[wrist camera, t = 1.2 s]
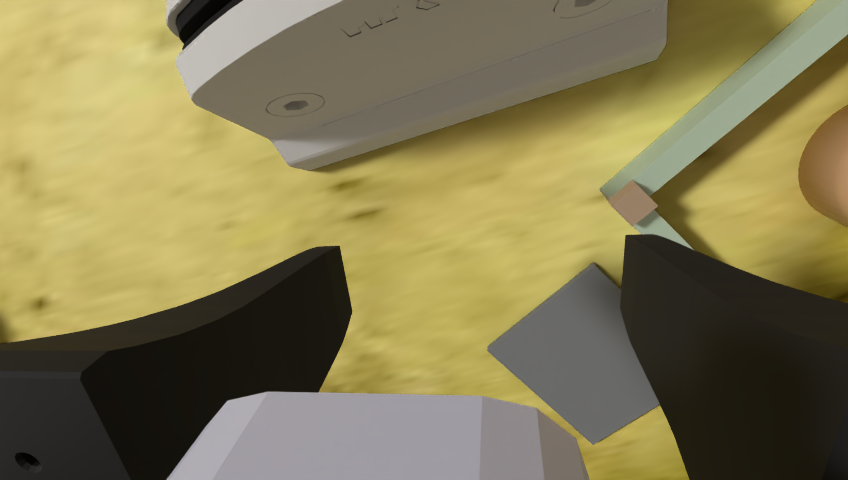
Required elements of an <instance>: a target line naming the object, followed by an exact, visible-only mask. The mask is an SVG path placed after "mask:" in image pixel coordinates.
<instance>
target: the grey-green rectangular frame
mask: <svg viewBox="0 0 848 480" xmlns="http://www.w3.org/2000/svg"><path fill="white" fill-rule="evenodd" d="M847 35H848V0H817V1H816V2H815V3H814V4H813V5H811V6H810V7H809V8H808V9H807V10H806V11H805V12H803V13H802V14H801V15H800V16H799V17H798V18H796V19H795V20H794V21H793V22H792V23H791V24H790V25H788V26H787V27H786V28H785V29H784V30H783V31H781V32H780V33H779V34H778V35H777V36H776V37H775V38H773V39H772V40H771V41H770V42H769V43H768V44H766V45H765V46H764V47H763V48H762V49H761V50H760V51H758V52H757V53H756V54H755V55H754V56H753V57H751V58H750V59H749V60H748V61H747V62H746V63H745V64H743V65H742V66H741V67H740V68H739V69H738V70H736V71H735V72H734V73H733V74H732V75H731V76H730V77H728V78H727V79H726V80H725V81H724V82H723V83H721V84H720V85H719V86H718V87H717V88H716V89H715V90H713V91H712V92H711V93H710V94H709V95H708V96H706V97H705V98H704V99H703V100H702V101H701V102H700V103H698V104H697V105H696V106H695V107H694V108H693V109H691V110H690V111H689V112H688V113H687V114H686V115H685V116H683V117H682V118H681V119H680V120H679V121H678V122H676V123H675V124H674V125H673V126H672V127H671V128H670V129H668V130H667V131H666V132H665V133H664V134H663V135H661V136H660V137H659V138H658V139H657V140H656V141H655V142H653V143H652V144H651V145H650V146H649V147H648V148H646V149H645V150H644V151H643V152H642V153H641V154H640V155H638V156H637V157H636V158H635V159H634V160H633V161H631V162H630V163H629V164H628V165H627V166H626V167H624V168H623V169H622V170H621V171H620V172H619V173H618V174H616V175H615V176H614V177H613V178H612V179H611V180H609V181H608V182H607V183H606V184H605V185H604V186H603V187H601V188H600V191H601V192H602V193H603V195H604V196H605V198H606V199H607V200H608V202H609V203H610V205H611V206H612V207H613V208H614V209H615V210H616V211H617V212H618V213H619V214H620V215H621V216H622V217H623V218H624V219H625V220H626V221H627V222H628V223H629V224H630V225H631V226H632V227H633V226H634V227H635V228H636V229H637V230H638V231H639V232H640V233H641V234H655V235H659V236H662V237H665V238H667V239H670V240H672V241H675V242H677V243H679V244H682V245H684V246H686V247H688V248H691V249H693V248H692V247H691V246H690V245H689V244H688V243H687V242H686V241H685V240H684V239H683V238H682V237H681V236H680V235H679V234H678V233H677V232H676V231H675V230H674V229H673V228H672V227H671V226H670V225H669V224H668V223H667V222H666V221H665V220H664V219H663V218H662V217H661V216H660V215H659V214H658V213H657V212H656V211H655V210H654V209H655V208H657V207H658V205H657V204H656V203H655V202H654V201H653V200H652V199H651V198H650V197H649V196H651V195H652V194H653V193H654V192H656V191H657V190H658V189H659V188H660V187H662V186H663V185H664V184H665V183H667V182H668V181H669V180H670V179H671V178H673V177H674V176H675V175H676V174H678V173H679V172H680V171H681V170H682V169H684V168H685V167H686V166H687V165H689V164H690V163H691V162H692V161H693V160H695V159H696V158H697V157H698V156H700V155H701V154H702V153H703V152H705V151H706V150H707V149H708V148H709V147H711V146H712V145H713V144H714V143H716V142H717V141H718V140H719V139H720V138H722V137H723V136H724V135H725V134H727V133H728V132H729V131H730V130H731V129H733V128H734V127H735V126H736V125H738V124H739V123H740V122H741V121H742V120H744V119H745V118H746V117H747V116H749V115H750V114H751V113H752V112H753V111H755V110H756V109H757V108H758V107H760V106H761V105H762V104H763V103H765V102H766V101H767V100H768V99H769V98H771V97H772V96H773V95H774V94H776V93H777V92H778V91H779V90H780V89H782V88H783V87H784V86H785V85H787V84H788V83H789V82H790V81H791V80H793V79H794V78H795V77H796V76H798V75H799V74H800V73H801V72H802V71H804V70H805V69H806V68H807V67H809V66H810V65H811V64H812V63H813V62H815V61H816V60H817V59H818V58H820V57H821V56H822V55H823V54H825V53H826V52H827V51H828V50H829V49H831V48H832V47H833V46H834V45H836V44H837V43H838V42H839V41H840V40H842V39H843V38H844V37H845V36H847ZM693 250H694V249H693Z"/></svg>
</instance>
